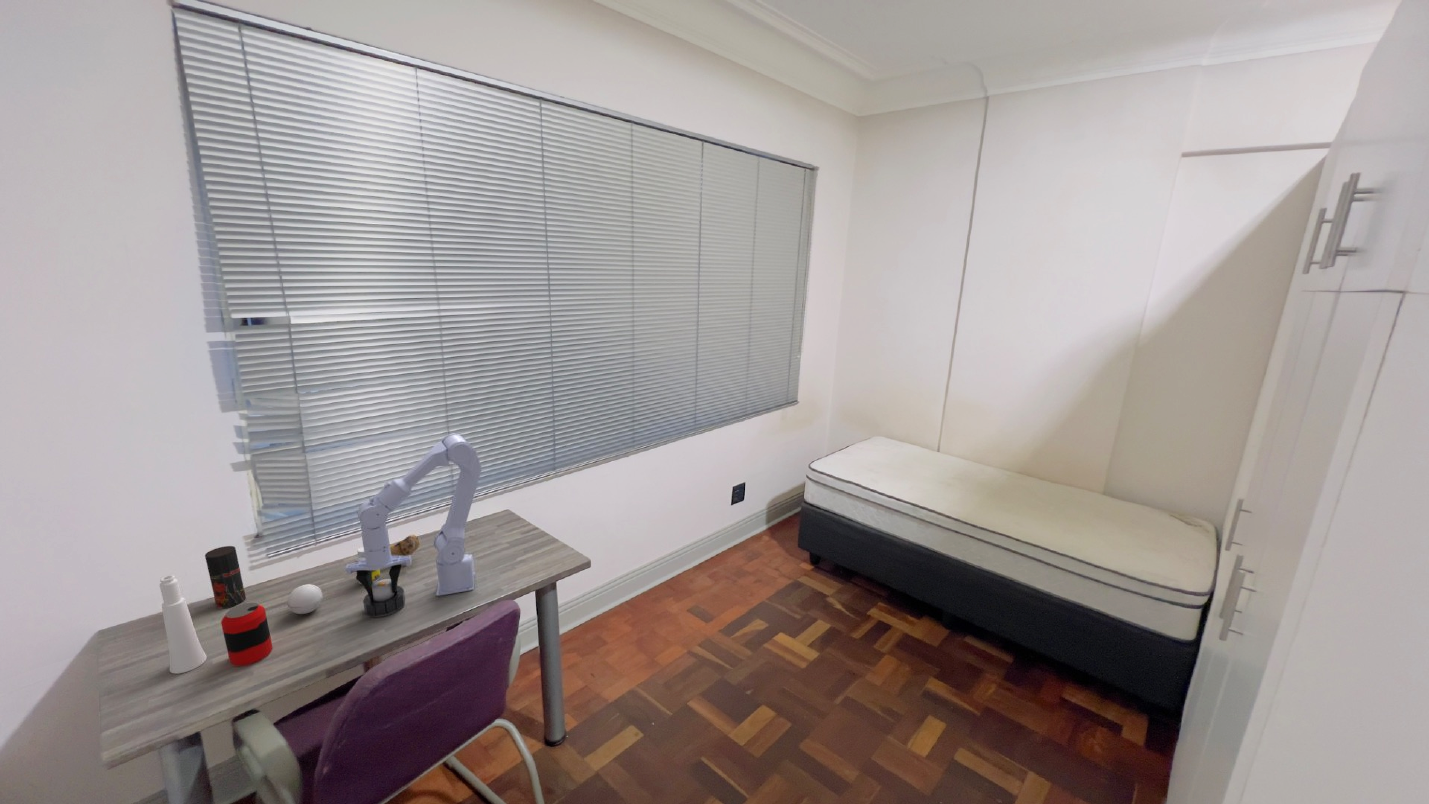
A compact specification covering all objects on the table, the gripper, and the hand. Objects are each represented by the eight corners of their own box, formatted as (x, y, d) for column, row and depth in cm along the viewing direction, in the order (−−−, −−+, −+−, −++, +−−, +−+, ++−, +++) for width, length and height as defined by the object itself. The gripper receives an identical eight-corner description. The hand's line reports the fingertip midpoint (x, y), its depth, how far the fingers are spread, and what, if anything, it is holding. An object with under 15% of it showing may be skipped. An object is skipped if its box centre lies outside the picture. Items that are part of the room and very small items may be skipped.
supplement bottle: (358, 587, 151) (353, 555, 148) (358, 578, 155) (353, 546, 153) (381, 582, 154) (377, 549, 151) (380, 573, 158) (376, 541, 156)
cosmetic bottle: (198, 670, 119) (176, 582, 114) (163, 676, 117) (140, 587, 112) (212, 652, 125) (192, 568, 119) (179, 658, 123) (157, 572, 117)
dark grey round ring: (407, 594, 148) (406, 583, 147) (401, 613, 140) (399, 601, 139) (370, 600, 145) (368, 589, 144) (361, 620, 137) (359, 608, 136)
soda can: (265, 662, 122) (255, 616, 119) (223, 670, 119) (212, 623, 116) (278, 641, 129) (269, 597, 126) (239, 648, 126) (229, 603, 123)
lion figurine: (424, 557, 168) (421, 530, 166) (419, 565, 163) (415, 539, 161) (372, 561, 164) (368, 535, 162) (365, 570, 159) (361, 543, 157)
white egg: (321, 599, 145) (317, 575, 144) (327, 611, 140) (322, 587, 138) (275, 615, 138) (269, 589, 137) (278, 628, 133) (273, 602, 132)
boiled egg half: (396, 590, 145) (394, 577, 144) (392, 600, 140) (390, 586, 139) (375, 594, 143) (373, 580, 142) (371, 604, 139) (369, 590, 138)
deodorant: (250, 599, 145) (240, 549, 141) (223, 611, 140) (212, 559, 136) (238, 593, 147) (228, 544, 144) (211, 605, 142) (200, 554, 138)
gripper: (411, 535, 144) (416, 579, 147) (348, 543, 139) (355, 589, 143) (406, 547, 138) (412, 593, 141) (340, 556, 133) (348, 604, 136)
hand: (383, 592), depth 141 cm, fingers closed on boiled egg half, 5 cm apart
